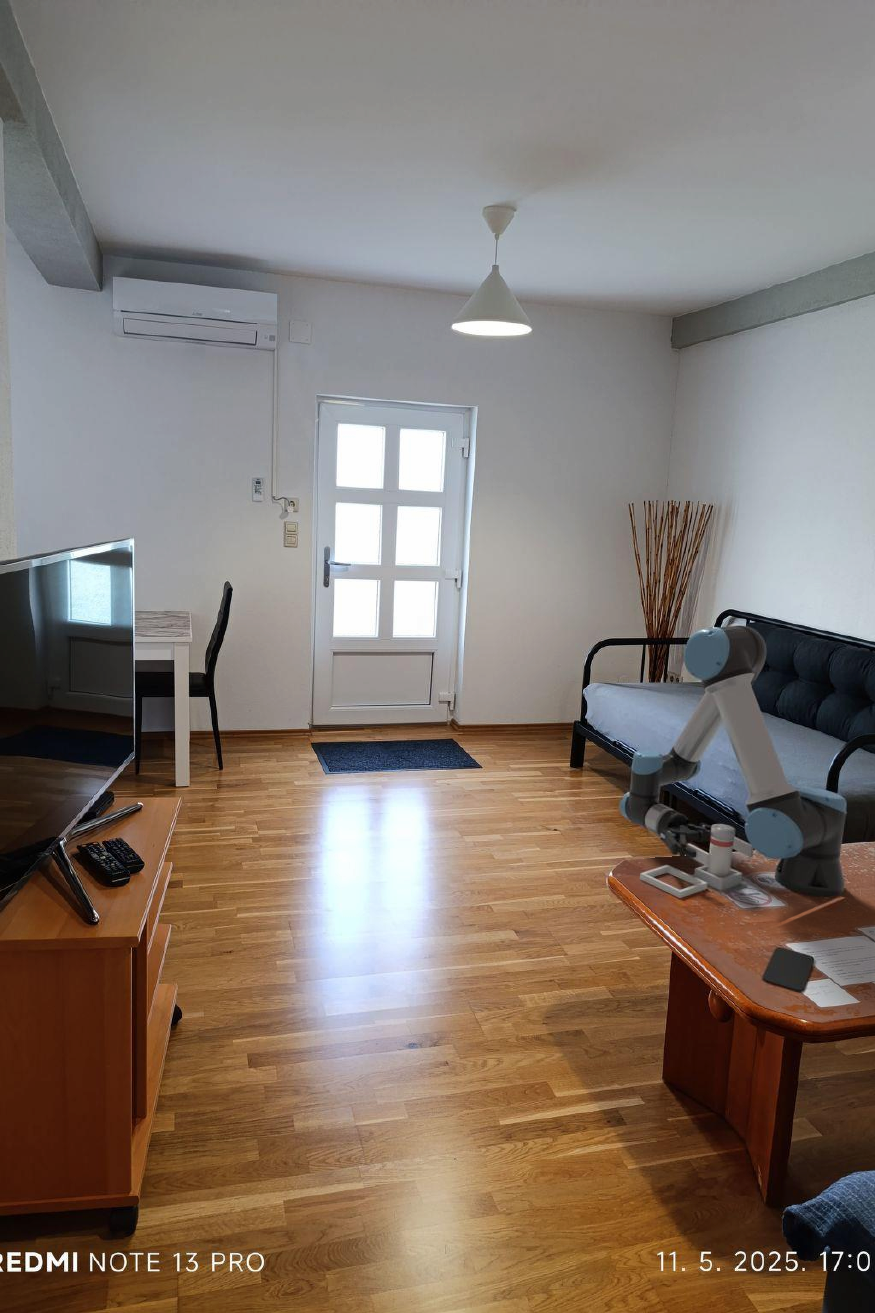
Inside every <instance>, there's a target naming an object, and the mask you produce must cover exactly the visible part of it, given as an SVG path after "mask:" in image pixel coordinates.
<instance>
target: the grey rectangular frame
mask: <svg viewBox="0 0 875 1313" xmlns="http://www.w3.org/2000/svg"><path fill="white" fill-rule="evenodd" d="M663 874H670V875H671V876H674V877H675V878H676V877H677V878H678V879H680V880H683V881H684V882H688V884H691V886H688V887H685V888H682V889H678V888H677V887H675V886H673V885H670V884H668V883H666V882H663V881H661V880H660V879H657V878H655V877H657V876H661V875H663ZM691 875H692V874H689V873H688V872H687V873H686V872H684V871H682V870H680V869H678V868H675V867H673V866H671V865H669V864H665V865H661V866H659V867H656V868H653V869H650V870H647V871H643V872H640V873H639V880H640V881H643V882H645V883H647V884H649V885H651V886H653V887H654V888H655V887H656V888H657V889H660V890H662V891H664V892H666V893H668V894H670V895H672V896H674V897H676V898H679V899H682V898H684V897H687V896H690V895H693V894H696V893H699V892H701V891H702V892H703V891H704V890H708V886H707V884H708V883H707V882H705V881H703V880H700V879H698V878H696V877H693V876H691Z"/></svg>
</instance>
